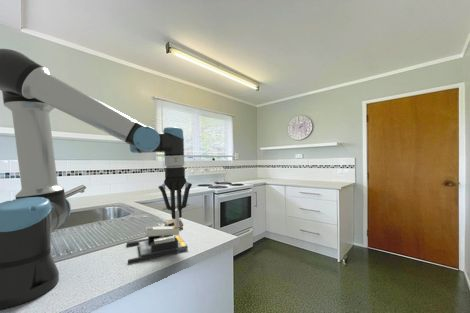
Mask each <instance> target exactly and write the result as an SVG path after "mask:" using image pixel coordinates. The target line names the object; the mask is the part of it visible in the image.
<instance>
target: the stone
mask: <svg viewBox="0 0 470 313" xmlns="http://www.w3.org/2000/svg"><path fill="white" fill-rule="evenodd" d="M169 226H175V225H174V219H172V218H171V219H167V220H166V221H165V223H164V227H169ZM179 226H180V227H179V230H181V229H182V228H183V227H184V223H183V221H182V218H179Z"/></svg>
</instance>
